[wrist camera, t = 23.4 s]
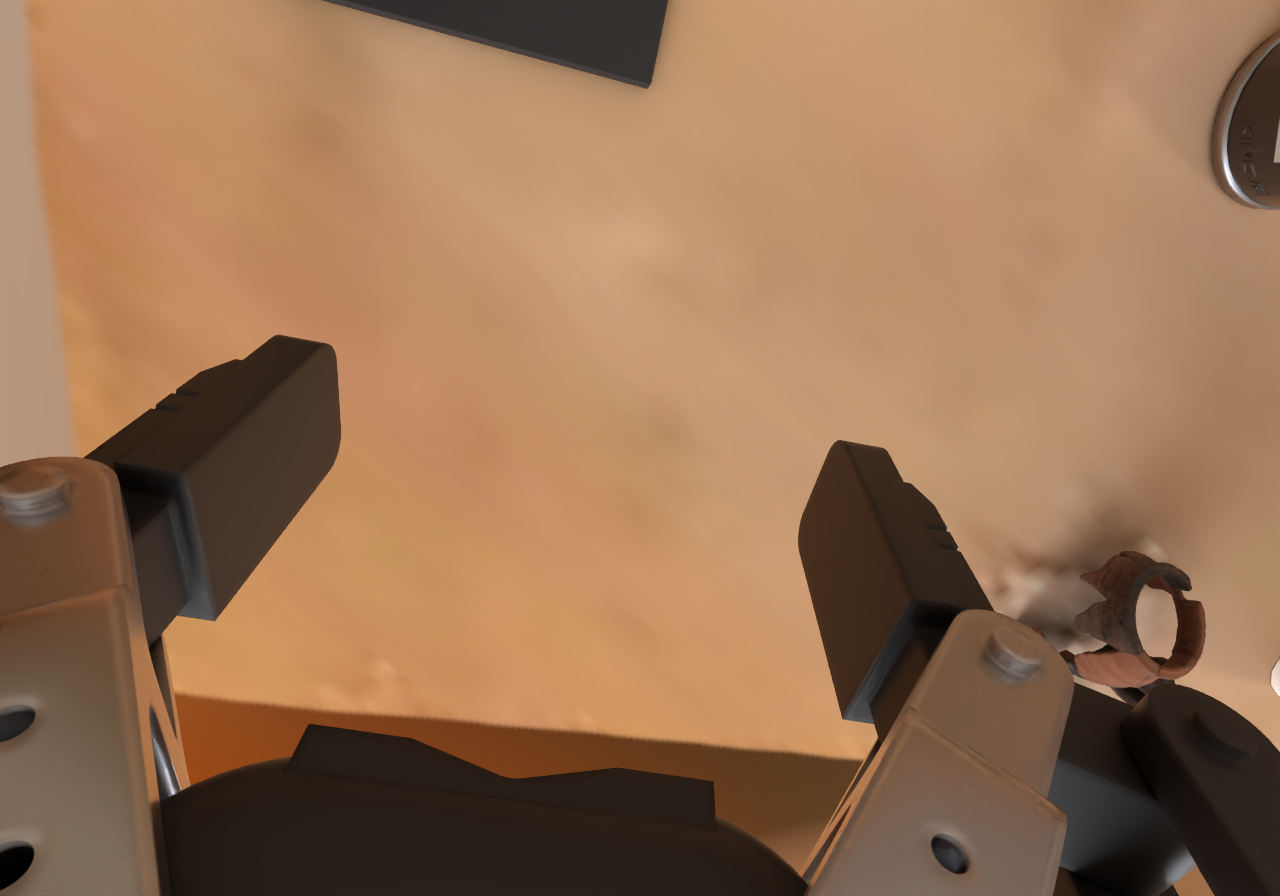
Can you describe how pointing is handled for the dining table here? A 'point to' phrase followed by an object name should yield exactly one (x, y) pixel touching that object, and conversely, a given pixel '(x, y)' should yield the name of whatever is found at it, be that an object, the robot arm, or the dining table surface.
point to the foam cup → (1276, 677)
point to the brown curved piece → (1116, 626)
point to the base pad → (546, 29)
